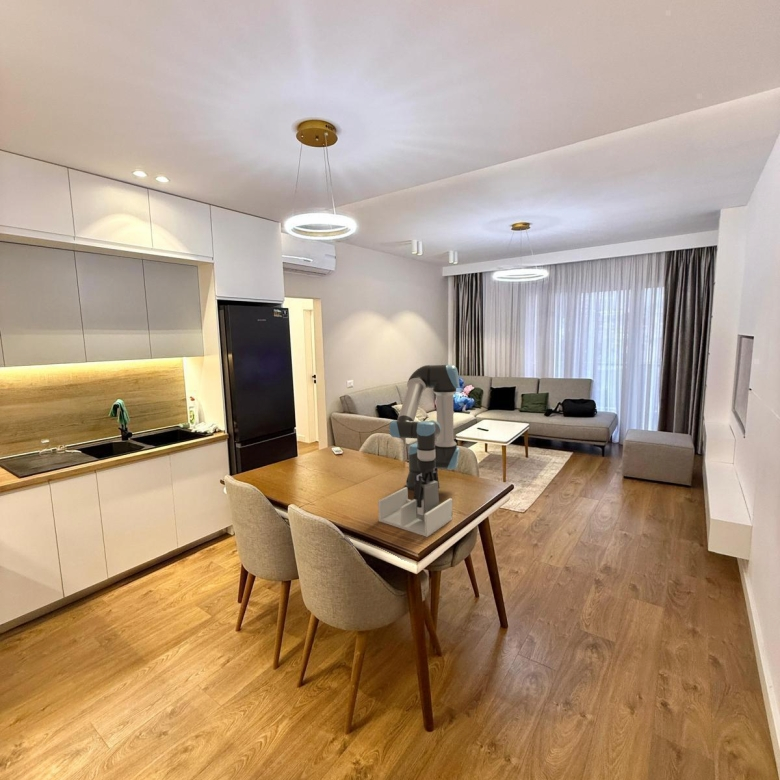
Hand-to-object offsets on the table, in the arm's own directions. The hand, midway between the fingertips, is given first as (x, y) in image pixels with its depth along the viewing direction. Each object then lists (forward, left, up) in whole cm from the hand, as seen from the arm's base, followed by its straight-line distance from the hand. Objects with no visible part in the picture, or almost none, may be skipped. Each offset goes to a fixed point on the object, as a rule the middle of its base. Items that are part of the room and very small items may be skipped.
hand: (427, 510), depth 172 cm
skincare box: (0, 0, -3) cm, 3 cm away
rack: (0, -6, -6) cm, 8 cm away
